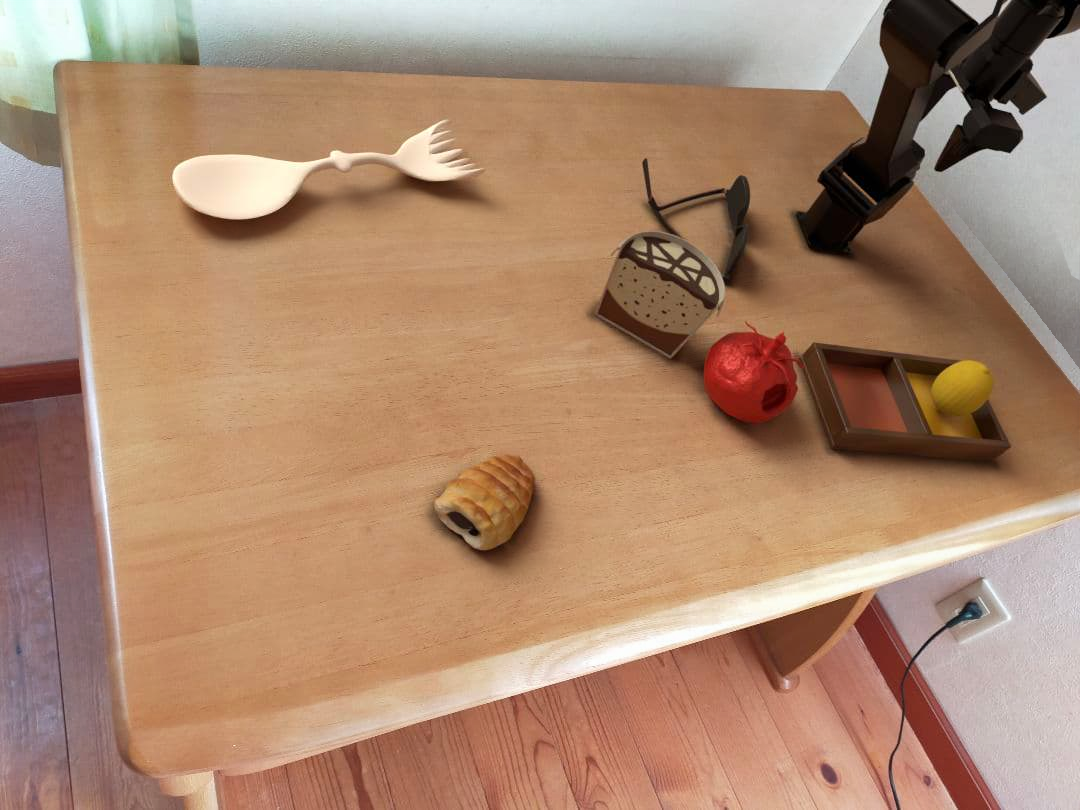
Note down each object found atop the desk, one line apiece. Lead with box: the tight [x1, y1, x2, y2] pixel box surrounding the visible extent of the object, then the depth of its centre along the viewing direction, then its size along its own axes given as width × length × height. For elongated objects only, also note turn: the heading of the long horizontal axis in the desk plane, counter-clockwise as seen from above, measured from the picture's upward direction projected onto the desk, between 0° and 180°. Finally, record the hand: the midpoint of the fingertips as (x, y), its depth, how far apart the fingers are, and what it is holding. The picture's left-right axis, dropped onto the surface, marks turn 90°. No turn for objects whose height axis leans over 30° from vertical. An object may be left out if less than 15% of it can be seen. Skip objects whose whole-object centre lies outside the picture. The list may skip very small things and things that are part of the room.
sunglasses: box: [641, 157, 751, 283], centre depth 106 cm, size 17×14×5 cm
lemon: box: [931, 359, 995, 416], centre depth 98 cm, size 6×6×8 cm
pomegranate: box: [703, 320, 804, 424], centre depth 90 cm, size 10×10×9 cm
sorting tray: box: [798, 341, 1012, 462], centre depth 99 cm, size 22×12×3 cm, turn 97°
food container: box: [594, 230, 726, 360], centre depth 91 cm, size 12×6×10 cm, turn 65°
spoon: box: [171, 119, 486, 220], centre depth 91 cm, size 9×32×4 cm, turn 122°
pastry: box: [433, 454, 536, 551], centre depth 74 cm, size 9×7×4 cm
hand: (924, 146), depth 113 cm, fingers open, 9 cm apart
